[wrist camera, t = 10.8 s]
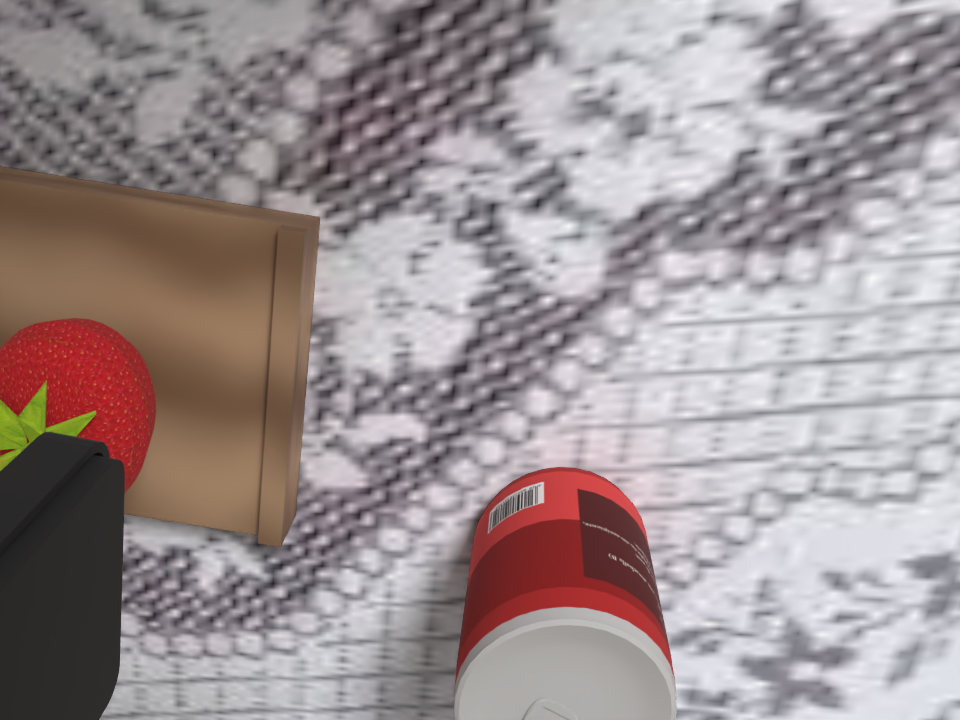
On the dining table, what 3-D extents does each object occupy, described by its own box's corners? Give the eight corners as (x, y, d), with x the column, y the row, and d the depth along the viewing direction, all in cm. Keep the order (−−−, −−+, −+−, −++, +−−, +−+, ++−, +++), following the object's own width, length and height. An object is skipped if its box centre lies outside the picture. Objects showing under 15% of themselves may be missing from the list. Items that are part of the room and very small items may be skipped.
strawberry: (55, 433, 39) (-93, 571, 30) (54, 264, 36) (-110, 357, 27) (193, 457, 39) (89, 602, 30) (203, 290, 36) (92, 392, 27)
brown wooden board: (-25, 162, 37) (-64, 173, 34) (320, 217, 37) (304, 232, 34) (-6, 467, 42) (-40, 495, 40) (295, 515, 42) (280, 547, 40)
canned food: (455, 587, 43) (428, 771, 33) (500, 440, 40) (487, 592, 30) (612, 628, 43) (633, 823, 33) (669, 485, 40) (712, 651, 30)
